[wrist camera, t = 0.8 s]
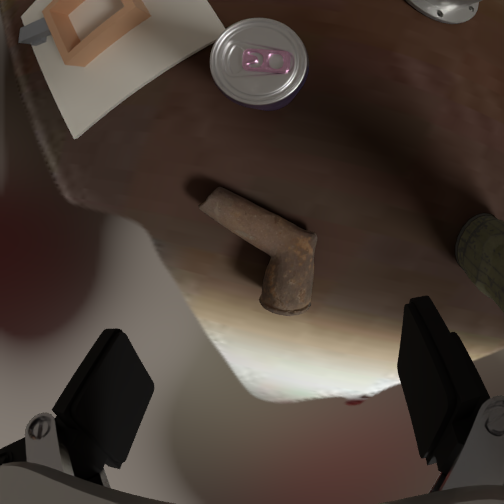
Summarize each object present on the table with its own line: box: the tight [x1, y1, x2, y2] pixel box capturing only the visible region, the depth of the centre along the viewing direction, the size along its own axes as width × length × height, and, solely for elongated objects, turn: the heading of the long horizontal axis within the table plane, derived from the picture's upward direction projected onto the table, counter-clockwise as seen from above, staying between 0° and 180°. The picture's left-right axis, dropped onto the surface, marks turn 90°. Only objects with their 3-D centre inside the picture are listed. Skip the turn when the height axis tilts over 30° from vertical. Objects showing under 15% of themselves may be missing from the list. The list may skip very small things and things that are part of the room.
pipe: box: [199, 187, 317, 316], centre depth 34 cm, size 6×17×10 cm
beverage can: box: [210, 18, 309, 111], centre depth 22 cm, size 6×6×15 cm
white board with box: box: [18, 0, 225, 139], centre depth 23 cm, size 22×24×5 cm
